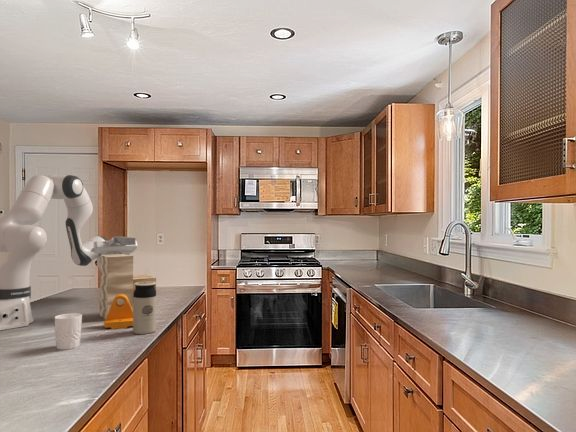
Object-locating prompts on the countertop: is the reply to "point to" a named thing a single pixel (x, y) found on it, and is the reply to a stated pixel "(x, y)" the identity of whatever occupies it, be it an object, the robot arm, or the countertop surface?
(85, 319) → the countertop surface
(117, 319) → the bracket
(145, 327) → the travel mug
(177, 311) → the countertop surface
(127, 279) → the step stand
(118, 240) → the block
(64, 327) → the white cup
